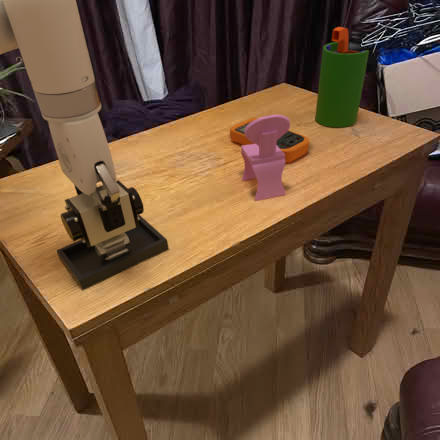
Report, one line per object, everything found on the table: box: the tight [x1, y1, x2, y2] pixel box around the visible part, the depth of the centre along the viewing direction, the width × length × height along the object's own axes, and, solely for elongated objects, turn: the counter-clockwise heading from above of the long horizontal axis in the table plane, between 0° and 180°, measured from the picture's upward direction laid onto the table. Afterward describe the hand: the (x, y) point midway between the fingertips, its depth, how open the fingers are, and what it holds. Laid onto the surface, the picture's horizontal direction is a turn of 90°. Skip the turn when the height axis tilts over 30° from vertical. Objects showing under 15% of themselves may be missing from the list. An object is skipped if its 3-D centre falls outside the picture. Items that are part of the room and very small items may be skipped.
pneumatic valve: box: [60, 179, 145, 261], centre depth 67 cm, size 6×12×12 cm, turn 125°
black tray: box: [55, 214, 169, 291], centre depth 71 cm, size 16×10×2 cm, turn 126°
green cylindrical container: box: [314, 26, 370, 128], centre depth 97 cm, size 10×9×20 cm
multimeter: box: [229, 117, 310, 163], centre depth 95 cm, size 9×18×3 cm, turn 42°
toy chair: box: [240, 114, 291, 202], centre depth 79 cm, size 8×9×15 cm
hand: (102, 214), depth 66 cm, fingers open, 8 cm apart
